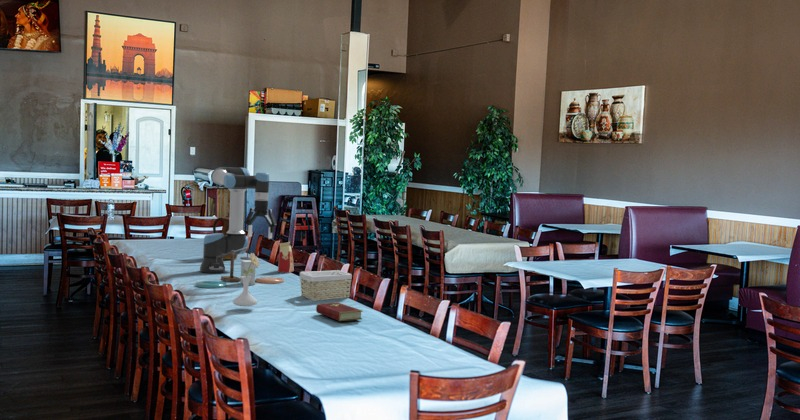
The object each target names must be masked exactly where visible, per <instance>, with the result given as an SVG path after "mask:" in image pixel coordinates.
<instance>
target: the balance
mask: <svg viewBox="0 0 800 420" xmlns="http://www.w3.org/2000/svg"><path fill="white" fill-rule="evenodd" d="M246 249H247V250H246ZM243 250H246V252H247V253H246V255H247V256H240V260H250V256H249V246H248V247H245V248H242V249H239V250H236V251H234V250H231V251H230V252H229V253H226V254H223V255H219V256H216V263H214V267H209V269H211V270H223V269H224V267H219V263H217V258H220V257H223V256H226V255H230V254H231V260H230V271H229V273H230V274H229V275H222V276H220V280H223V281H226V282H229V283H236V282H237V283H239V282H241V277H239V276H234V270H235V269H234V267H235V265H234V264H235V259H234V254H235V253H236V252H239V251H243Z"/></svg>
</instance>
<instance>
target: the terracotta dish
mask: <svg viewBox="0 0 800 420" xmlns="http://www.w3.org/2000/svg"><path fill="white" fill-rule="evenodd" d="M284 280H285V279H284V278H282V277H275V276H271V277H270V276H269V277H268V276H264V277H263V276H262V277H261V276H260V277H255V283H259V284H270V285H272V284H273V285H274V284H282V283H284V282H285V281H284Z"/></svg>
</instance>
